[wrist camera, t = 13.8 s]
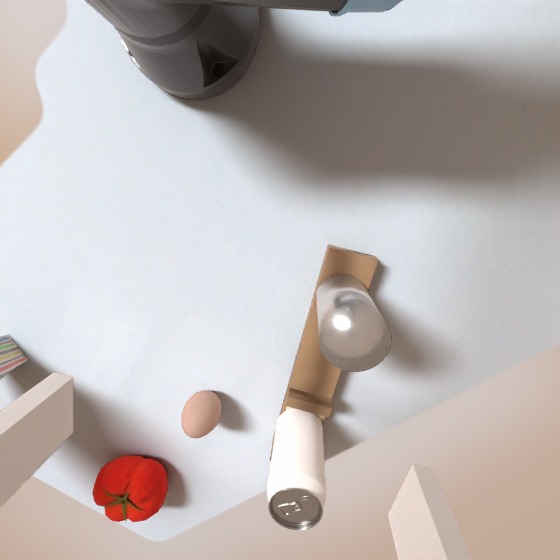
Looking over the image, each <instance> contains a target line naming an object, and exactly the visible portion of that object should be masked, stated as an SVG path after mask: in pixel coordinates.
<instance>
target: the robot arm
mask: <svg viewBox="0 0 560 560" xmlns="http://www.w3.org/2000/svg"><path fill="white" fill-rule="evenodd" d="M85 1H86V2H87V3H88V4H89V5H90V6H91V7H93V8H94V9H95V10H96V11H97V12H98V13H99V14H101V15H102V16H103V17H104V18H105V19H106V20H107V21H109V22H110V23H111V24H112V25H113V26H114V27H115V29H116V30H117V31H118V33H119V35H120V38H121V40H122V43H123V45H124V47H125V49H126V51H127V53H128V54H129V56H130V58H131V59H132V61H133V62H134V63H135V65H136V66H137V67H138V68H139V70H140V71H141V72H142V73H143V74H144V75H145V76H146V77H147V78H148V79H150V80H151V81H152V82H153V83H155V84H156V85H157V86H159V87H160V88H162V89H163V90H164V91H166V92H168V93H170V94H172V95H174V96H177V97H180V98H184V99H191V100H199V99H207V98H211V97H214V96H216V95H219V94H221V93H222V92H224V91H226V90H227V89H229V88H230V87H231V86H232V85H234V84H235V83H236V82H237V81H238V80H239V79H240V77H241V76H242V75H243V74H244V72H245V71H246V69H247V67H248V66H249V64H250V62H251V60H252V58H253V55H254V53H255V50H256V46H257V42H258V38H259V31H260V10H259V8H276V9H295V10H313V11H329V14H330V15H331V16H341V15H343V14H345V13H347V12H384V11H387V10H390V9H392V8H393V7H394V6H396V5H397V4H398V3H400V2H401V1H403V0H85ZM72 433H73V377H71V376H67V375H63V374H59V373H55V372H54V373H52V374H51V375H49V376H48V377H47V378H45V379H44V380H43V381H41V382H40V383H38V384H37V385H36V386H34V387H33V388H31V389H30V390H29V391H27V392H26V393H24V394H23V395H22V396H20V397H19V398H17V399H16V400H15V401H13V402H12V403H11V404H9V405H8V406H6V407H5V408H4V409H2V410H1V411H0V508H1V506H3V504H5V502H6V501H7V500H8V499H9V498H10V497H11V496H12V495H13V494H14V493H15V492H16V491H17V490H18V489H19V488H20V487H21V486H22V485H23V484H24V483H25V482H26V481H27V480H28V479H29V478H30V477H31V476H32V475H33V474H34V473H35V472H36V471H37V470H38V468H39V467H40V466H41V465H42V464H43V463H44V462H45V461H46V460H47V459H48V458H49V457H50V456H51V455H52V454H53V453H54V452H55V451H56V450H57V449H58V448H59V447H60V446H61V445H62V444H63V443H64V442H65V441H66V440H67V439H68V438H69V437H70V435H71V434H72ZM388 517H389V522H390V526H391V530H392V534H393V539H394V543H395V547H396V551H397V556H398V560H472V558H471V556H470V554H469V551H468V549H467V547H466V545H465V542H464V540H463V538H462V535H461V533H460V531H459V528H458V526H457V524H456V521H455V519H454V517H453V514H452V512H451V510H450V507H449V505H448V503H447V500H446V499H445V496H444V494H443V491H442V489H441V487H440V484H439V482H438V480H437V477H436V475H435V473H434V470H432V469H429V468H425V467H422V466H418V465H412V467H411V468H410V471H409V473H408V475H407V477H406V479H405V481H404V483H403V485H402V487H401V489H400V491H399V493H398V495H397V498H396V499H395V502H394V504H393V506H392V508H391V510H390V512H389V514H388Z"/></svg>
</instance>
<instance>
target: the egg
mask: <svg viewBox="0 0 560 560" xmlns="http://www.w3.org/2000/svg"><path fill="white" fill-rule="evenodd" d="M221 413H222V404H221V401H220V399H219V397H218V396H217V395H216V394H215V393H214V392H211V391H207V390H205V391H200V392H197V393H195V394H194V395H193V396H191V397H190V398H189V400H188V401H187V402H186V404H185V406H184V408H183V412H182V428H183V430H184V432H185V433H186V435H188V436H189V437H191V438H201V437H203V436H205V435H207V434H208V433H209V432H211V431H212V430H213V429H214V428H215V427H216V425H217V423H218V422H219V420H220V417H221Z"/></svg>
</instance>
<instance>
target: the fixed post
mask: <svg viewBox="0 0 560 560" xmlns="http://www.w3.org/2000/svg"><path fill="white" fill-rule="evenodd" d="M316 300H317V314H318V329H319V343H320V348H321V351H322V353H323V355H324V357H325V358H326V359H327V361H328V362H329V363H331V364H332V365H333V366H335V367H337V368H339V369H341V370H344V371H349V372H360V371H365V370H368V369H371V368H373V367H375V366H376V365H378V364H379V363H380V362H381V361H383V359H384V358H385V357H386V355H387V354H388V352H389V350H390V346H391V332H390V329H389V327H388V325H387V323H386V321H385V320H384V318H383V317H382V315H381V313H380V312H379V310H378V309H377V307H376V305H375V304H374V302H373V300H372V299H371V297H370V296H369V294H368V292H367V291H366V289H365V288H364V286H363V284H362V283H361V282H360V280H359V279H357V278H356V277H355V276H353V275H351V274H347V273H335V274H332V275H330V276H328V277H326V278H325V279H324V280H323V281H322V282H321V283H320V285H319V287H318V289H317V293H316Z"/></svg>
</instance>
